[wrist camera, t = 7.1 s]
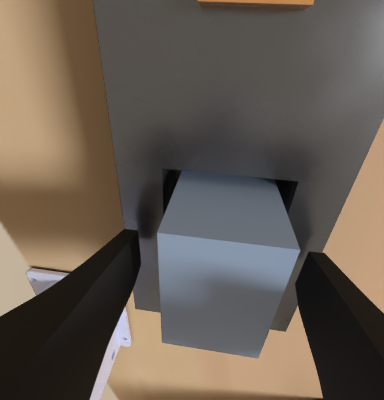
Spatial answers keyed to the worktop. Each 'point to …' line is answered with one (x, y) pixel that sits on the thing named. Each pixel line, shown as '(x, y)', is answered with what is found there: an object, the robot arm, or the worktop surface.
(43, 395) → the robot arm
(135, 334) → the worktop surface
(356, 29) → the grey slotted block
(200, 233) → the plug
